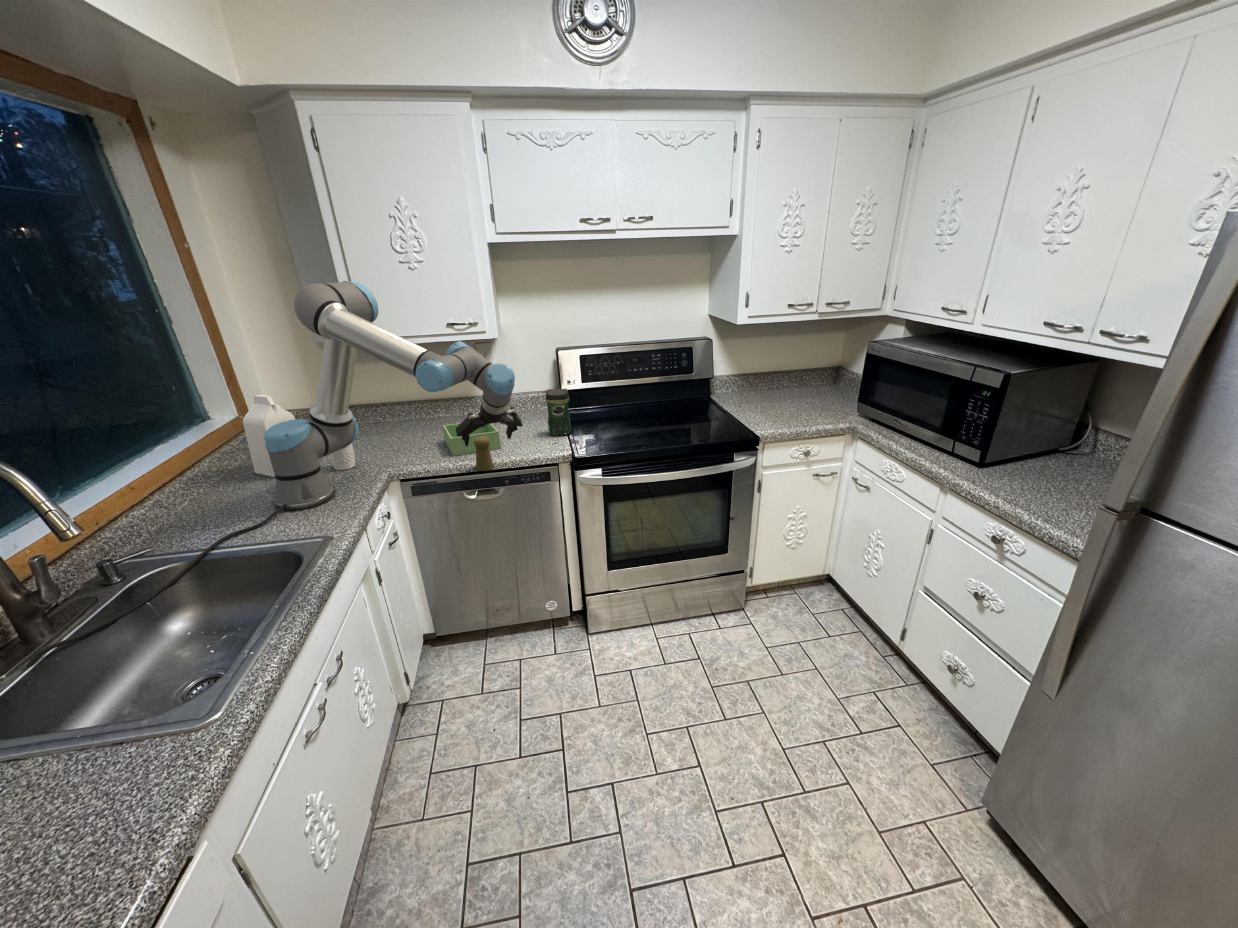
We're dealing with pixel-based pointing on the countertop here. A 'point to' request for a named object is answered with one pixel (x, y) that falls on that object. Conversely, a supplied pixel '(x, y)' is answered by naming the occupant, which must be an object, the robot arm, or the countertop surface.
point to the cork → (483, 454)
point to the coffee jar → (558, 412)
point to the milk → (262, 430)
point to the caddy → (458, 444)
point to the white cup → (343, 458)
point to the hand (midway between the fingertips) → (487, 439)
